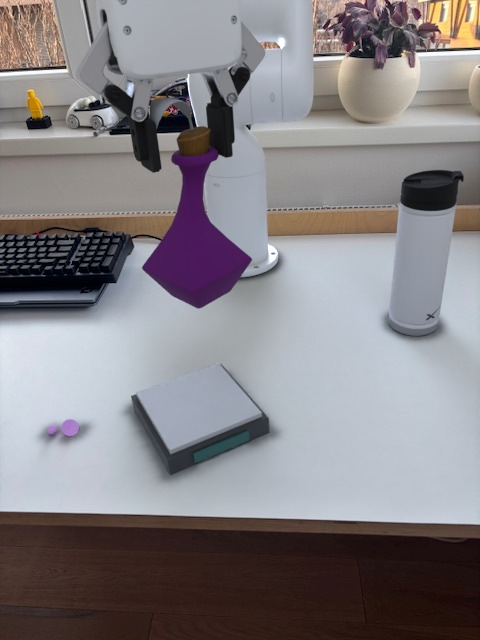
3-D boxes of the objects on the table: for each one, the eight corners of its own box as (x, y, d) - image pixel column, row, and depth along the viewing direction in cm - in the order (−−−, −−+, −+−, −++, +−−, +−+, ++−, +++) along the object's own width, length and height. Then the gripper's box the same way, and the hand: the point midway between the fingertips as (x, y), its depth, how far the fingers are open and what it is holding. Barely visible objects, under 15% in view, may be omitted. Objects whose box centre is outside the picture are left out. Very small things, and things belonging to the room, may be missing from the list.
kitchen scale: (133, 409, 60) (129, 391, 59) (222, 376, 64) (220, 359, 63) (171, 477, 52) (167, 457, 50) (271, 434, 56) (270, 415, 54)
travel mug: (443, 338, 68) (468, 182, 58) (388, 335, 69) (403, 182, 59) (437, 312, 73) (460, 165, 63) (387, 310, 75) (401, 165, 64)
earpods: (75, 439, 59) (74, 423, 60) (79, 435, 58) (78, 419, 58) (46, 440, 57) (46, 423, 58) (49, 436, 56) (49, 419, 57)
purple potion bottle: (204, 267, 57) (178, 83, 47) (255, 289, 52) (239, 89, 42) (146, 297, 53) (105, 102, 43) (197, 323, 48) (163, 111, 38)
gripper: (243, -102, 42) (254, 136, 52) (14, -101, 36) (75, 170, 45) (295, -120, 37) (297, 152, 46) (35, -122, 30) (99, 194, 40)
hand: (186, 159), depth 46 cm, fingers closed on purple potion bottle, 5 cm apart
